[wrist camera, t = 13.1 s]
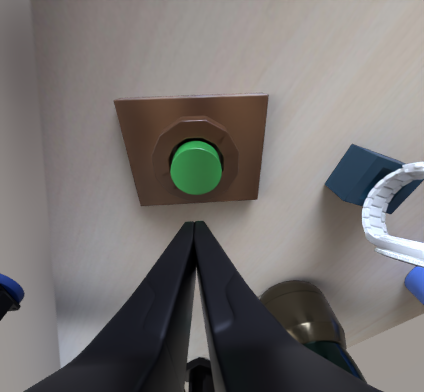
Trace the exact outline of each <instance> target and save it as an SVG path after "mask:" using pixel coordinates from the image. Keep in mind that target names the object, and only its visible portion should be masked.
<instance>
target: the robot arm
mask: <svg viewBox="0 0 424 392" xmlns="http://www.w3.org/2000/svg"><path fill="white" fill-rule="evenodd" d="M196 267H197V276H198V282H199V289H200V296H201V302H202V309H203V316H204V322H205V329H206V336H207V342H208V349H209V356H210V362H211V369H212V376H213V382H214V389H215V392H383V391H380V390H378V389H376V388H374V387H372V386H370V385H368V384H367V383H365V382H363V381H362V380H360V379H358V378H357V377H355V376H353V375H352V374H350V373H348V372H347V371H345V370H343V369H342V368H340V367H338V366H337V365H335V364H333V363H332V362H330V361H328V360H327V359H325V358H323V357H322V356H320V355H318V354H317V353H315V352H313V351H312V350H310V349H308V348H307V347H305V346H304V345H302V344H301V343H299V342H298V341H297V340H296V339H295V338H294V337H293V336H291V335H290V334H289V333H288V331H287V330H286V329H285V328H284V327H283V326H282V325H281V324H280V322H279V321H278V320H277V319H276V318H275V317H274V316H273V315H272V313H271V312H270V311H269V310H268V309H267V308H266V307H265V305H264V304H263V303H262V302H261V301H260V300H259V299H258V297H257V296H256V295H255V294H254V293H253V291H252V290H251V289H250V288H249V286H248V285H247V284H246V282H245V281H244V279H243V278H242V277H241V275H240V274H239V272H238V271H237V269H236V268H235V266H234V265H233V263H232V262H231V261H230V259H229V258H228V256H227V255H226V253H225V252H224V250H223V249H222V247H221V246H220V244H219V243H218V241H217V240H216V238H215V237H214V235H213V234H212V233H211V231H210V230H209V228H208V227H207V225H206V224H205V222H204V221H195V223H194V222H193V221H192V222H185V223H184V224H183V226H182V227H181V228H180V230H179V231H178V233H177V234H176V235H175V237H174V238H173V240H172V241H171V242H170V244H169V245H168V247H167V248H166V249H165V251H164V252H163V253H162V255H161V256H160V258H159V259H158V260H157V262H156V263H155V265H154V266H153V267H152V269H151V270H150V271H149V273H148V274H147V276H146V277H145V278H144V280H143V281H142V282H141V284H140V285H139V286H138V288H137V289H136V290H135V292H134V293H133V294H132V296H131V297H130V298H129V299H128V300H127V302H126V303H125V304H124V305H123V306H122V308H121V309H120V310H119V311H118V312H117V313H116V314H115V316H114V317H113V318H112V319H111V320H110V321H109V322H108V323H107V325H106V326H105V327H104V328H103V329H102V330H101V331H100V333H99V334H98V335H97V336H96V337H95V338H94V339H93V340H92V342H91V343H90V344H89V345H88V346H87V347H86V348H85V349H84V350H83V351H82V352H81V353H80V354H79V355H78V356H77V357H76V358H74V359H73V360H72V361H71V362H70V363H68V364H67V365H66V366H64V367H63V368H61V369H59V370H58V371H56V372H55V373H53V374H51V375H50V376H48V377H46V378H45V379H44V380H42V381H40V382H38V383H37V384H35V385H33V386H32V387H30V388H28V389H27V390H25V391H24V392H184V384H185V374H186V365H187V356H188V346H189V337H190V327H191V318H192V308H193V299H194V290H195V280H196ZM20 307H21V306H20V304H19V303H18V302H17V301H16V300H15V299H14V298H13V297H12V296H11V295H10V294H9V293H8V292H7V290H6V289H5V288H4V287H3V286H2V285H1V284H0V321H1V319H2V318H3V317H4V315H5V314H6V313H7V311H15V310H18V309H19V308H20Z"/></svg>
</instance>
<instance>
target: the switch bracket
mask: <svg viewBox="0 0 424 392" xmlns="http://www.w3.org/2000/svg"><path fill="white" fill-rule="evenodd" d="M185 381H186V382H189V392H215V389H214V382H213V376H212V369H211V362H210V361H208V360H206V359H203V358H200V357H199V358H197V359H195V360H193V361H191V362H189V363H187V365H186V374H185Z"/></svg>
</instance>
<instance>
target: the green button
mask: <svg viewBox="0 0 424 392" xmlns="http://www.w3.org/2000/svg"><path fill="white" fill-rule="evenodd" d="M170 173H171V178H172V180H173V182H174V184H175V185H176V186H177V187H178V188H179V189H180V190H182V191H183V192H185V193H188V194H192V195H201V194H205V193H208V192H210V191H211V190H213V189H214V188H215V187H216V186H217V185H218V183H219V181H220V179H221V175H222V168H221V164H220V160H219V156H218V154H217V152H216V150H215V149H214V148H213V147H212V146H211V145H209V144H208V143H205V142H202V141H189V142H186V143H184V144H183V145H181V146H180V147H179V148H178V149H177V150H176V152H175V154H174V157H173V160H172V164H171V169H170Z"/></svg>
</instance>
